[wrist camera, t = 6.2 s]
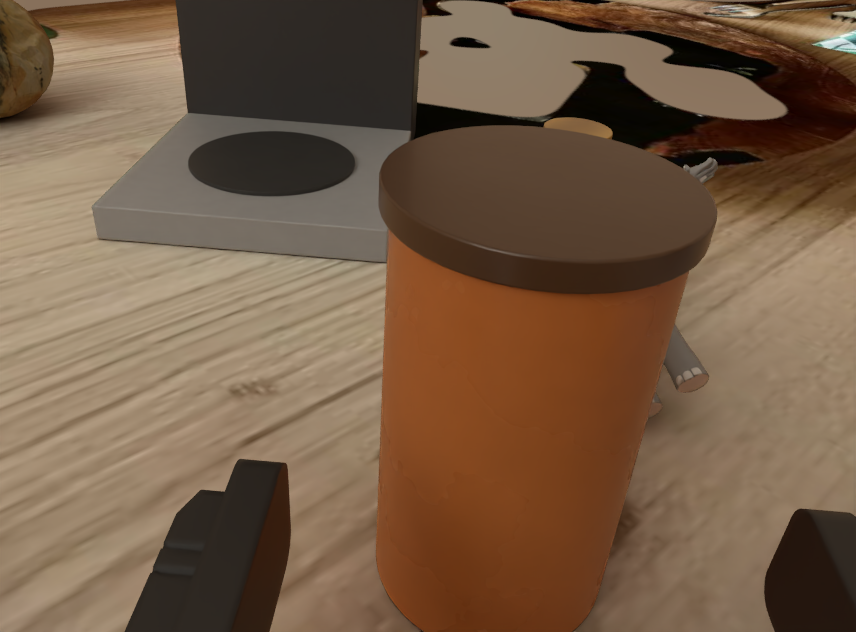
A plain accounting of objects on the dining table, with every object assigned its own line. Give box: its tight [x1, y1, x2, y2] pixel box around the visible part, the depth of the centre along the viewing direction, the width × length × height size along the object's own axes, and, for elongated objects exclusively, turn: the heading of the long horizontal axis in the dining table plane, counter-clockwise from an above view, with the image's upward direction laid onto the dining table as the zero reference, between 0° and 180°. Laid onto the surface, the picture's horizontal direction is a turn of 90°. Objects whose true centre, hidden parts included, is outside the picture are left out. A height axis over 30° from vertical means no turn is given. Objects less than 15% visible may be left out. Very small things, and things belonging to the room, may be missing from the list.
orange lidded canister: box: [376, 126, 717, 632], centre depth 17 cm, size 6×6×10 cm
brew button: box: [543, 118, 612, 139], centre depth 36 cm, size 3×3×2 cm
